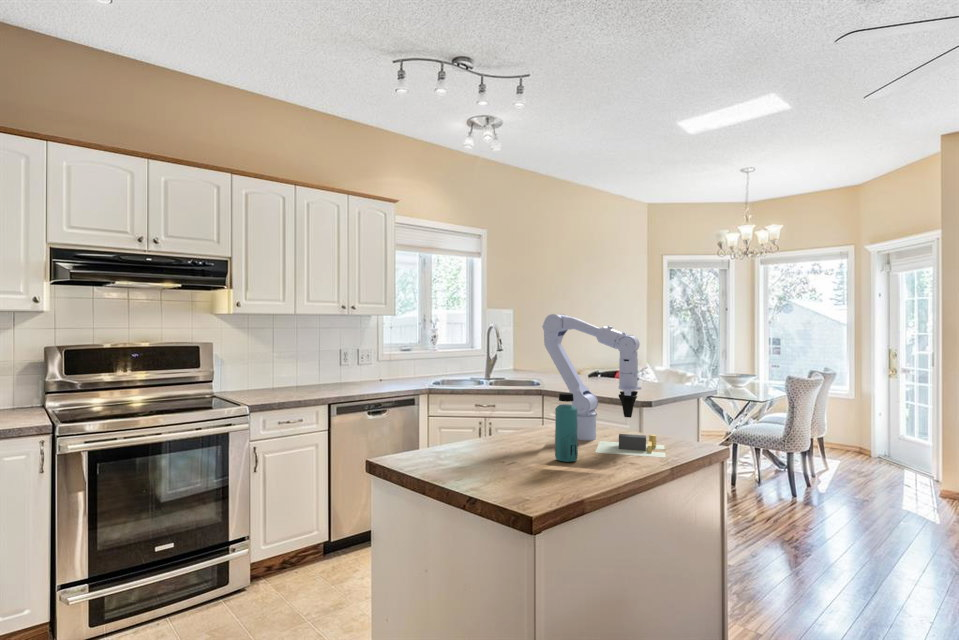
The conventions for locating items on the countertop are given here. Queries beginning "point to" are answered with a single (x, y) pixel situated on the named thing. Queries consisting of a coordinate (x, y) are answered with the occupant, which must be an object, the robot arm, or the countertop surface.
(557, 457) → the beverage bottle
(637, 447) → the tall gray prism
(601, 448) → the pale green u-shaped slab
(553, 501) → the countertop surface
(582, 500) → the countertop surface
